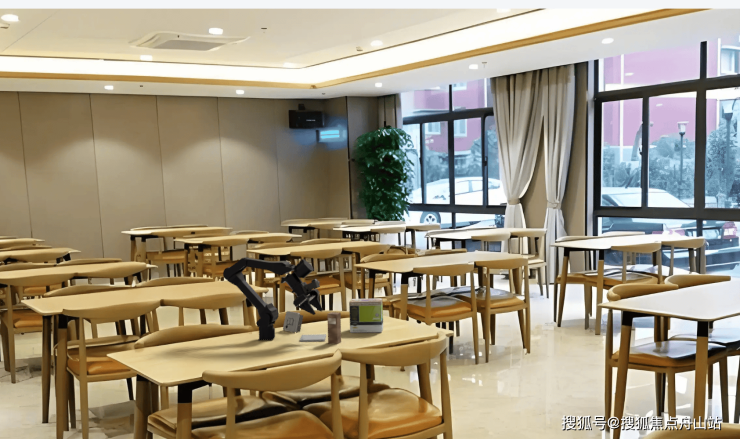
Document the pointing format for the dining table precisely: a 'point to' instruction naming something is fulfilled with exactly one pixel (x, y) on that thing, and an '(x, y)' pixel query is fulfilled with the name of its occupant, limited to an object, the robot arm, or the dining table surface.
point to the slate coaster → (313, 338)
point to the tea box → (366, 315)
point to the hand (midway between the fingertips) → (318, 312)
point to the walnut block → (334, 327)
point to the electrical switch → (292, 321)
